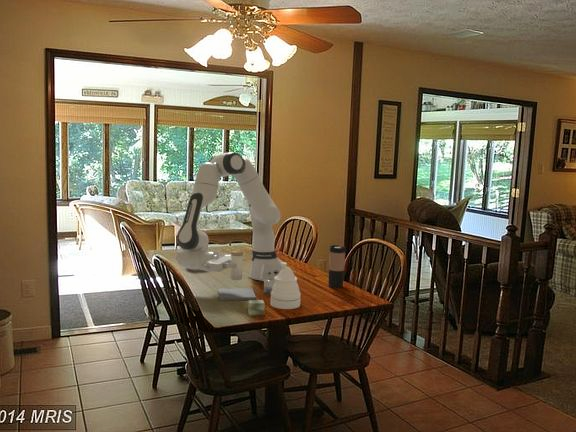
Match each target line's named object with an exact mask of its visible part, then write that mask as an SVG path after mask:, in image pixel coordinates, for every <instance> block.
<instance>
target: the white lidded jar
mask: <svg viewBox="0 0 576 432" xmlns="http://www.w3.org/2000/svg"><path fill="white" fill-rule="evenodd" d="M230 254H231V264H236V268H230V273H229V274H230V275H229V277H230V280H232V281H240V280H243V262H244V261H243V257H244V256H243V255H244V251H241V250H232V251H230Z"/></svg>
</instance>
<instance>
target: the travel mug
mask: <svg viewBox="0 0 576 432" xmlns="http://www.w3.org/2000/svg"><path fill="white" fill-rule="evenodd" d="M345 258H346V246H345V245H344V246H339V245H336V244H335V245H334V244H333V245H332V244H331V245H329V262H328V284H327V285H328V287H329V288H332V289H341V288H343V286H344V277H345V265H346V264H345V263H346V261H345V260H346V259H345Z"/></svg>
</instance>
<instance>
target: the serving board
mask: <svg viewBox="0 0 576 432" xmlns="http://www.w3.org/2000/svg"><path fill="white" fill-rule="evenodd" d="M217 293H218V300H219V301H249V300H257V296H256V294H255V291H254V288H247V287H246V288H245V287H244V288H243V287H242V288H218V289H217Z"/></svg>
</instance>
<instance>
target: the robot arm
mask: <svg viewBox="0 0 576 432" xmlns="http://www.w3.org/2000/svg"><path fill="white" fill-rule="evenodd" d="M229 176H233V177H234V178H235V180H236V182H237V184H238V186H239V189H240V191H241V193H242V195H243V198H245V200H246V201H247V203H248V204H249V206H250V207H249V215H250V221H251V223H250V224H251V227H252V228H251V229H252V250H251V254H250V255H251V256H250V257H251V266H250V270H249V274H248V277H249V278H250V279H252V280H258V281H261V282H264V279H268V278H272V279H274V277H275V276H278V275H279V273H280V271H281V270H282V269H283V268H284V267H282V266H281V262H283V260H281V258H279V257H280V252H279V251H277V250H275V239H276V238H275V233H274V229H273V226H274V225H276V224H278V223H279V221H280V220H281V210H280V209H279V208H278V207H277V205H276V204H275V201H273V199H272V197H271V195H270V193H268V190H267V189H266V188H265V186H264V184H263V181H262V180H261V177H260V176H259V174H258V171H257V169H256V168H255V165H253V164H252V162H251V161H250V160H249V159H248V158H246V157H243V156H242V155H241V154H240V153H238V152H233V151H230V152H223V153H220V154H218V155H214V156H212V157H211V158H210V159H209V160H207V162H203V163H201V164H200V166H199V167H198V170H197V173H196V177H195V180H194V185H193V190H192V193H191V195H190V198H189V200H188V204H187V207H186V210H185V214H184V218H183V222H182V224H181V227H180V228H179V229H178V232H177V233H176V242H177V245H178V246H179V247H180V248H179V249H178V250H177V251H176V253H175V254H176V255H175V257H176V258H175V259H176V263H177V264H178V265H179V266H180V267H182V268H185V269H188V268H189V269H200V270H199V271H205V272H218V273H219V272H222V271H224V270H226V269H231V268H236V264H231V253H226V252H225V253H223V252H221V251H220V250H219V251H217V250H216V251H211V250H210V251H209V250H208V246H209V243H210V239H209V235H208V233H206V232H205V231H204V230H203V231H202V230H200V229H198V224H199V220H200V215H201V212H202V209H203V208H204V207H205V206H206V207H207V206H208V205H211V204H212V203H214V202H215V200H216V197H217V194H218V189H219V182H220V180H221V178H222V177H223V178H224V177H229ZM189 269H188V270H189Z"/></svg>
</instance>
